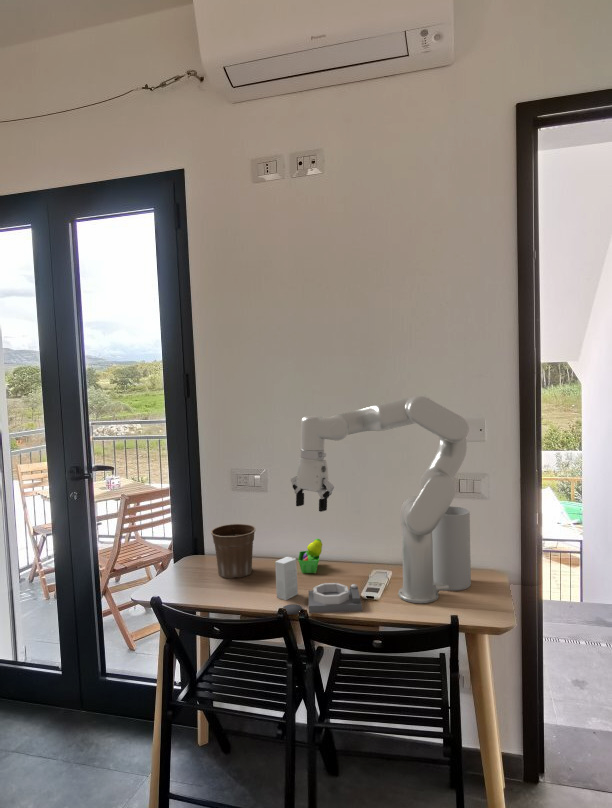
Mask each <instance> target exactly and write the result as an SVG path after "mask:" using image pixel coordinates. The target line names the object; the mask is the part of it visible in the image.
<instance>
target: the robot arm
mask: <svg viewBox="0 0 612 808" xmlns="http://www.w3.org/2000/svg"><path fill="white" fill-rule="evenodd" d="M413 424H417V425H418V426H420V427H422V428H423V429H425V430H426V431H429V432H430V433H432V434H434V435H435V436H438V439H439V445H438V447H437V451H436V453H435V455H434V456H433V458H432V460H431V462H430V463H429V464H428V466H427V467H426V470H425V471H424V473H423V474H422V476H421V477H420V479H419V488H420V491H419V494H418V495H417V496H409V497H408V498H407V499H405V500H404V501H403V503H402V505H401V507H400V511H399V512H400V513H399V514H400V526H401V551H402V552H401V554H402V555H401V556H402V560H401V561H402V587H401V588H399V590H398V594H397V595H398V597H399V599H401V600H403V601H405V602H409V603H412V604H413V603H414V604H429V603H433V602H435V601H437V600H438V599H439V595H440V594H439V592H449V591H450V590H449V586H448V585H443V583H435V582H434V581H433V539H432V531H433V530H434V529H435V528H436V527H437V525H438V524H439V522H440V521H441V519H442V517H443V516H444V514H445V513H446V511H447V509H448V508H449V506H451V504H452V502H453V500H454V499H455V496H456V492H457V490H456V488H457V486H456V483H455V481H454V479H455V477H456V476H457V474H458V472H459V470H460V468H461V467H462V464H463V462H464V461H465V458H466V454H467V448H468V447H467V446H468V445H467V444H468V442H467V437H468V435H469V432H470V427H469V424H468V421H467V420H466V419H465V418H464V417H463V416H461V415H460V414H457V413H455V412H453V411H452V410H450V409H448V408H446V407H444V406H443V405H441V404H439V403H438V402H436V401H434V400H433V399H431V398H429V397H426V396H425V395H424V396H423V395H413V396H408V397H404V398H400V399H395V400H392V401H388V402H383V403H378V404H374V405H371V406H368V407H365V408H363V407H362V408H360V409H356V410H355V409H354V410H351V411H348V412H341V413H339V414H338V413H337V414H335V415H332V416H330V417H322V416H318V415H305V416H303V417H302V418H301V422H300V457H299V458H298V459H299V460H298V464H297V471H296V472H297V473H296V475H295V476H294V477H292V478H290V482H291V485H292V489H293V490H294V494H295V506H296V507H300V506H301V507H302V506H304V505H305V493H304V491H309V492H315V493H317V494H318V496H319V499H318V512H319V513H321V512H325V511H327V509H328V499H329V498H330V496H331V495H332V492H333V491H334V488H335V486H334V485H333V483H331V482H330V481H329V470H328V463H327V460H326V459H325V458H326V457H327V453H325V440H329V441H343V440H344V439H346V437H347V436H349V435H353V434H358V433H363V432H364V433H365V432H384V431H387V430H393V429H396V428H397V429H398V428H401V427H406V426H410V425H413Z"/></svg>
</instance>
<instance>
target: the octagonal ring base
mask: <svg viewBox="0 0 612 808" xmlns="http://www.w3.org/2000/svg"><path fill="white" fill-rule="evenodd" d="M312 589H313V590H308V613H337V612H338V613H340V612H363V604H362V599H361V596H360V592H359V587H358V585H357V584H355V583H353V584H351V585H349V587H348V586H347V585H345V584H342V583H338V582H324V583H323V582H322V583H321V584H319V585H316V586H314V587H312Z"/></svg>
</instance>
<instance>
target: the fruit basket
mask: <svg viewBox="0 0 612 808" xmlns="http://www.w3.org/2000/svg"><path fill="white" fill-rule="evenodd" d="M306 549H307V550H302V551H301V550H300V551H299V555H298V559H297V561H298V563H299V567H300V571H301V573H302V574H317V570H318V566H319V562H320V555H321V554H322V551H323V542H322V540H321V539H320V538H315V539H314V540H313V542H310V543H309V544H308V545H307V547H306Z"/></svg>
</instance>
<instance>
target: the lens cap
mask: <svg viewBox="0 0 612 808" xmlns="http://www.w3.org/2000/svg"><path fill="white" fill-rule="evenodd" d="M282 608H285V609H286V611H287V614H286V615H298V614H300V613H299V611H300V610H301V609H302V610H303V606H302V605H300V604H295V603H290V604H286V605H284V606H283V607H282Z"/></svg>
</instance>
